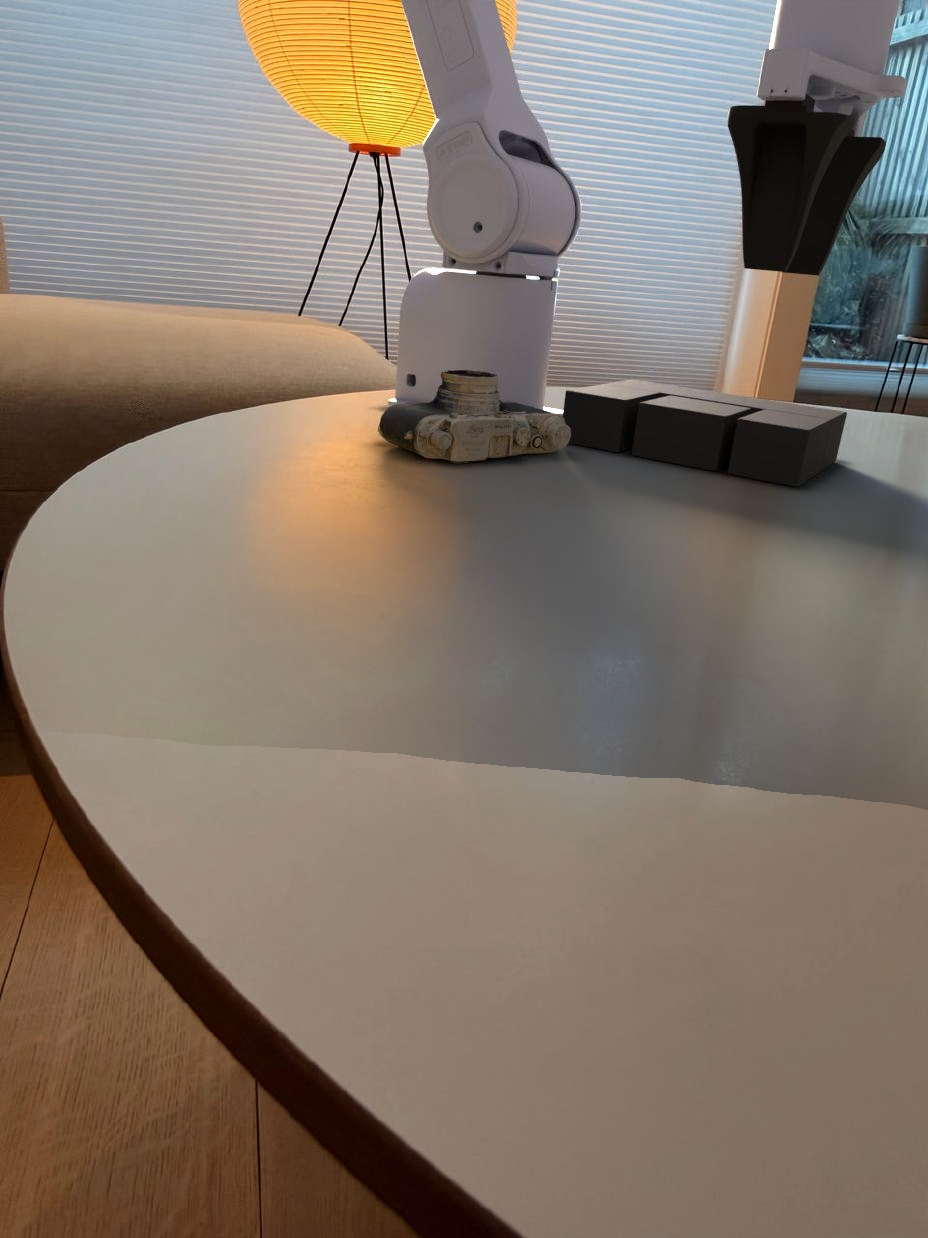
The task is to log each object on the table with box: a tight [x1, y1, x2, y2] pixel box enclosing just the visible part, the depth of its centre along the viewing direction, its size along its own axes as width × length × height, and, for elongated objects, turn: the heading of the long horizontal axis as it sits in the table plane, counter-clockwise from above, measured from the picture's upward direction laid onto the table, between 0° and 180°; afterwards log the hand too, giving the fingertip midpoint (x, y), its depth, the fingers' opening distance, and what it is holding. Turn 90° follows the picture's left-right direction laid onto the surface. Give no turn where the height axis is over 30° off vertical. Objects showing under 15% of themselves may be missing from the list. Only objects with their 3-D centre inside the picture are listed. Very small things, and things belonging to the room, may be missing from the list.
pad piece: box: [631, 395, 751, 472], centre depth 54 cm, size 5×5×3 cm
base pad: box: [562, 378, 848, 488], centre depth 56 cm, size 14×10×3 cm
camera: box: [377, 370, 571, 464], centre depth 50 cm, size 5×10×4 cm, turn 124°
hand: (783, 272), depth 51 cm, fingers open, 7 cm apart
